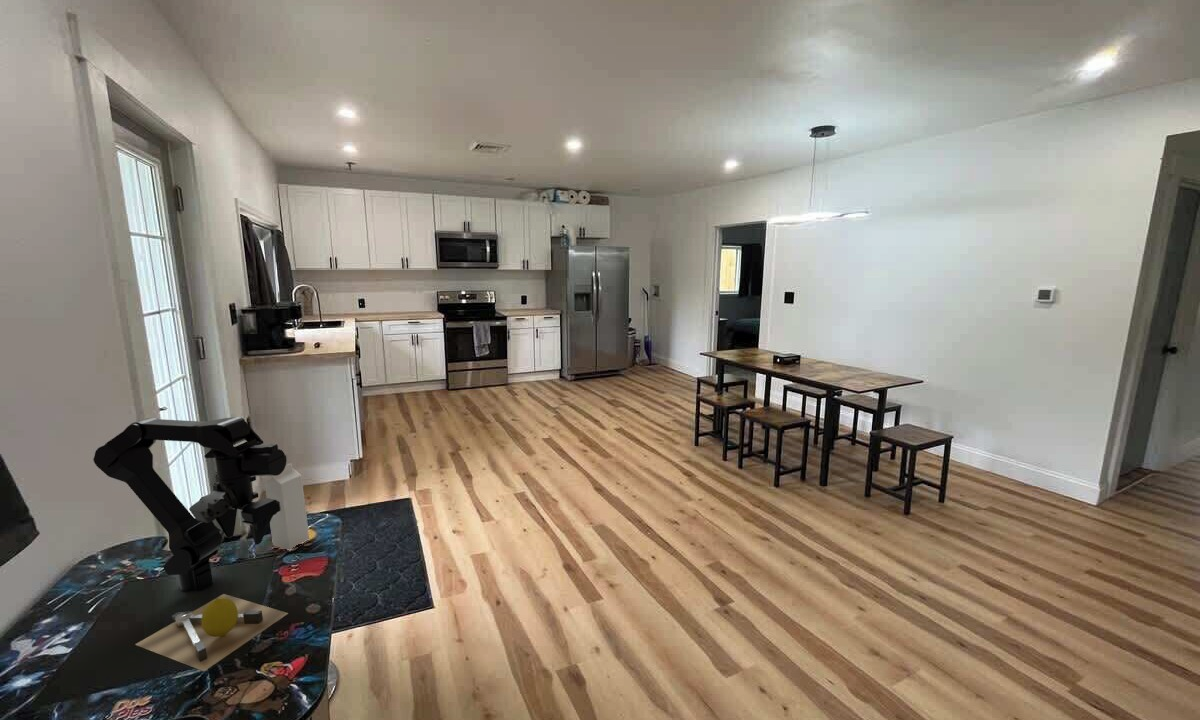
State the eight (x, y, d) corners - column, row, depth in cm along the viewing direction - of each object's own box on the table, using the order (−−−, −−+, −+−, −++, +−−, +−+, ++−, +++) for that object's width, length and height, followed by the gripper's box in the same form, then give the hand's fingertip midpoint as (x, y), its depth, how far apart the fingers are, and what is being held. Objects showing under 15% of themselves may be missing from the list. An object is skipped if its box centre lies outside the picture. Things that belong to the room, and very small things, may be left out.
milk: (273, 548, 128) (261, 469, 124) (293, 537, 133) (283, 461, 130) (290, 552, 126) (279, 472, 122) (310, 540, 132) (300, 463, 128)
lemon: (221, 648, 91) (214, 610, 90) (197, 644, 92) (190, 606, 91) (247, 627, 96) (242, 591, 95) (225, 624, 97) (219, 588, 96)
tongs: (142, 640, 93) (140, 630, 93) (208, 602, 104) (206, 593, 104) (201, 662, 87) (199, 651, 87) (264, 620, 98) (262, 610, 98)
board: (136, 650, 92) (134, 644, 92) (224, 598, 107) (223, 593, 107) (204, 677, 86) (203, 671, 85) (289, 618, 101) (288, 613, 100)
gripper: (164, 484, 102) (176, 552, 104) (224, 496, 96) (235, 567, 98) (220, 465, 112) (230, 527, 115) (277, 474, 106) (286, 540, 109)
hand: (244, 540), depth 109 cm, fingers open, 9 cm apart
